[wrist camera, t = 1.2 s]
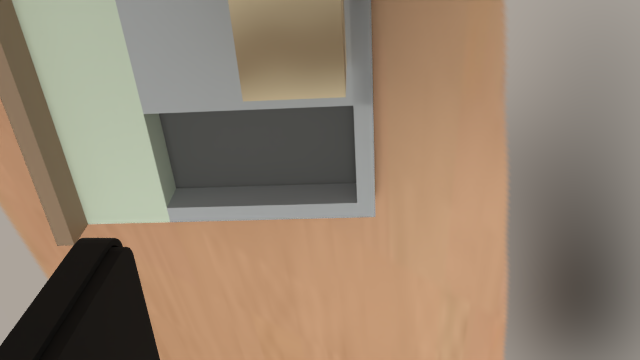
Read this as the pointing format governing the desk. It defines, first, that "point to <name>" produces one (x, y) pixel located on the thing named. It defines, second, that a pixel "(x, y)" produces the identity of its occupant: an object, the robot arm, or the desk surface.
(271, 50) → the maple block
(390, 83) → the desk surface
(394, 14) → the desk surface
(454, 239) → the desk surface
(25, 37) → the board
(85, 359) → the robot arm
